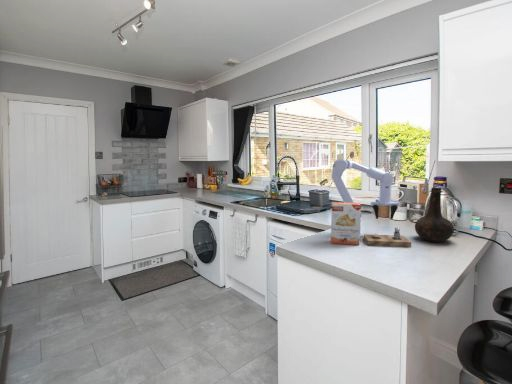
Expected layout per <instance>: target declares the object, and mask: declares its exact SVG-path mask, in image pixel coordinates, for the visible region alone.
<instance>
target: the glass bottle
mask: <svg viewBox="0 0 512 384" xmlns="http://www.w3.org/2000/svg"><path fill="white" fill-rule="evenodd" d="M442 188H443V187H438V186H437V187H436V186H434V187H431V188H430V189H431V190H429V192H430V198H429V199H430V200H429V204H428V208H427V211H426V213H425V215H424V216H421V217H420V218H418V219H417V220H416V221H415V224H414V230H415V232H416V234H417V236H419V238H421V239H422V240H424V241H428V242H431V243H432V242H433V243H441V242H446V241H447V240H449V239H451V237H452V236H453V235H454V233H455V226H454V224H453V223H452V222H451V220H449V219H448V218H445V217H443V215H442V208H441V207H442V202H441V201H442V200H441V197H442V195H441V194H442V193H443V192H444V191H443V190H442Z"/></svg>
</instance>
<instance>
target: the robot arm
mask: <svg viewBox="0 0 512 384" xmlns="http://www.w3.org/2000/svg"><path fill="white" fill-rule="evenodd" d="M350 169H351V170H352V169H354V170H357V171H359V172H361V173H365V174H366V176H367V177H368V178H371V179H373V180H376V181H379V182H380V183H379V184H380V185H379V201H370V206H372V209H373V211H374V217H375V219H377V220H378V219H379V209H380V207H379V206H381V207H383V206H384V207H390V217H389V218H390V219H391V220H393V219H394V216H395V213H396V211H398V208H399V207H400V202H398V201H392V182H393V181H394V176H393V174H392V173H390V172H387V171H386V170H382V169H379V168H378V167H377V166H370V167H367V166H364V165H363V164H359V163H358V162H356V161H352V160H347V159H344V158H337V159H336V160H335V161H334V163H333V164H332V172H331V180H332V181H333V183H334V186H335V187H336V190H337V191H338V193H339V196H340V197H341V199H342V201H343V203H355V202H354V200H353V198H352V196H351V195H350V193H349V191H348V188H347V187H346V185H345V183H344V181H343V179H342V176H343V174H344V172H345V171H347V170H350ZM362 214H363V213H361V216H360V230H361V228H362V227H361V226H362V225H361V223H362ZM361 237H363V236H362V234H361V233H360V237H359V238H361Z"/></svg>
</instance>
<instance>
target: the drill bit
mask: <svg viewBox="0 0 512 384" xmlns="http://www.w3.org/2000/svg"><path fill="white" fill-rule="evenodd" d="M393 235H394V240H400V236H401V233H400V227H395V228H394V232H393Z"/></svg>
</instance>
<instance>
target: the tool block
mask: <svg viewBox="0 0 512 384" xmlns="http://www.w3.org/2000/svg"><path fill="white" fill-rule="evenodd" d="M362 237H363V238H362V239H363V240H364V242H365V243H366V244H367V246H368V247H369V246H371V247H395V248H397V247H399V248H412V241H411V240H410V239H408V238H407V237H406V236H405V235H400V240H394V234H369V233H368V234H365V233H363V236H362Z"/></svg>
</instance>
